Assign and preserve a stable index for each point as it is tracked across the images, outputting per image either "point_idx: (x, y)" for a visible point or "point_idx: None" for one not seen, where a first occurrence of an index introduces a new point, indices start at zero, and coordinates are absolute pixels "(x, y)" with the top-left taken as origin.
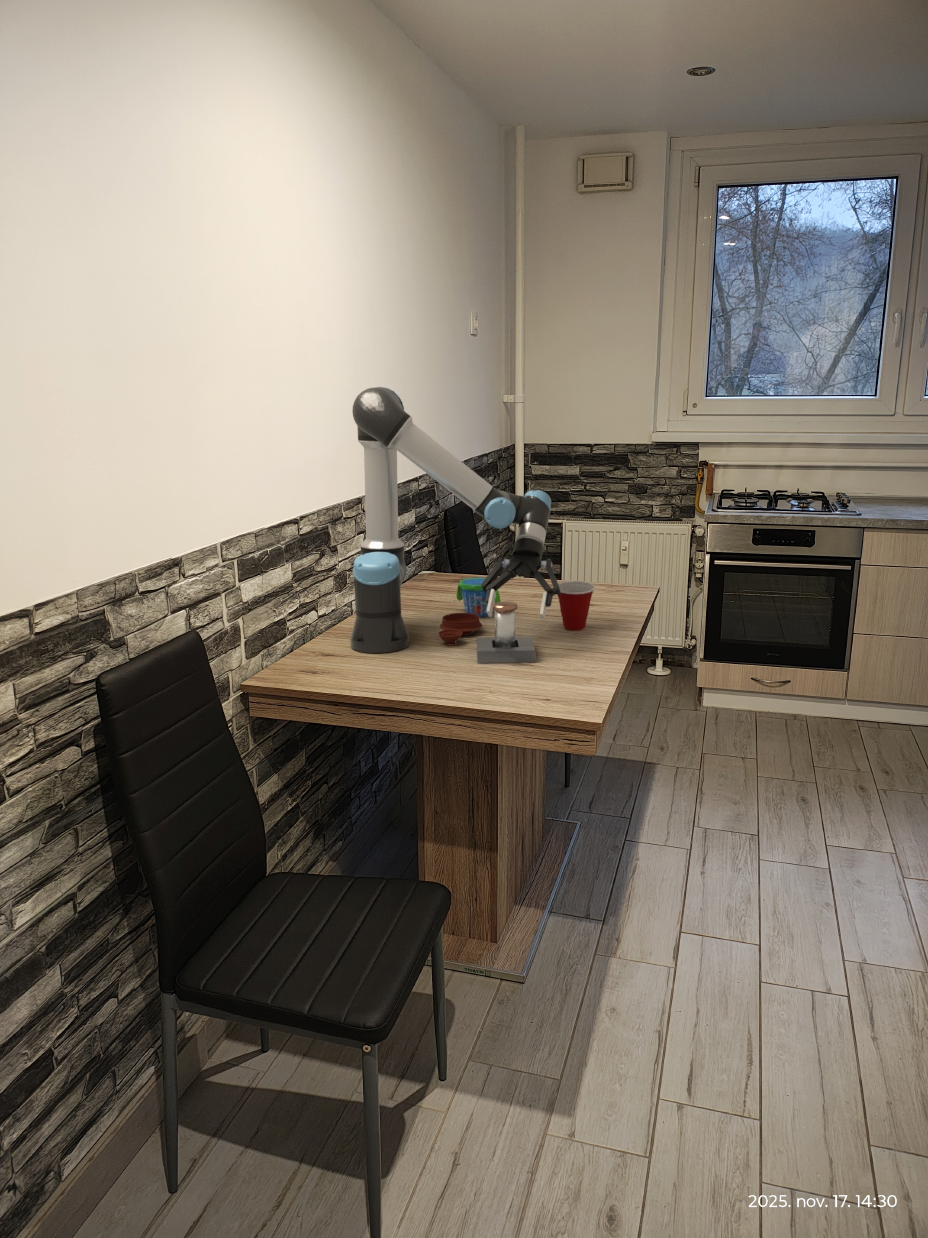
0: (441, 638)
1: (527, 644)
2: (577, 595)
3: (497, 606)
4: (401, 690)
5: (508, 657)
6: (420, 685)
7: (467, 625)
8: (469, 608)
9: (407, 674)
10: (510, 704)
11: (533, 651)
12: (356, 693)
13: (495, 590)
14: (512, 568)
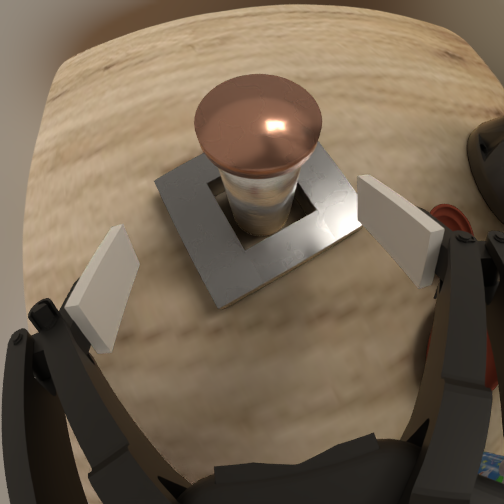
0: (453, 219)
1: (193, 218)
2: None
3: (270, 78)
4: (313, 18)
5: None
6: (305, 31)
7: None
8: (485, 454)
9: (359, 56)
10: (150, 37)
11: (159, 179)
12: (351, 9)
13: (438, 294)
14: (445, 425)
